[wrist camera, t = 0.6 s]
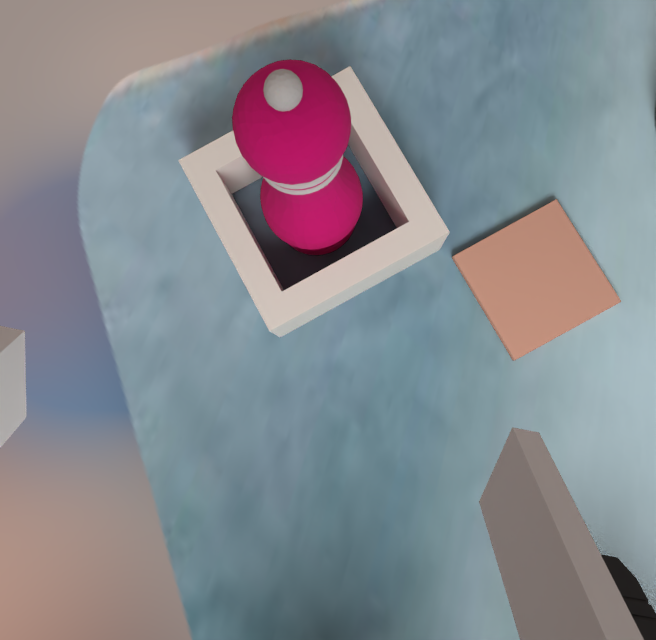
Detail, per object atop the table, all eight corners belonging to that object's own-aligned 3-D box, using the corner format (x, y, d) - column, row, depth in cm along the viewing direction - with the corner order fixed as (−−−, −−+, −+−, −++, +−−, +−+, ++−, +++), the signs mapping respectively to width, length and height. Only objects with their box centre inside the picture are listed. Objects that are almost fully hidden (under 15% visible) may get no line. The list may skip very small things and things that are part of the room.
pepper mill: (301, 279, 44) (251, 190, 24) (254, 203, 45) (168, 58, 25) (380, 230, 44) (395, 102, 24) (331, 155, 45) (307, -27, 25)
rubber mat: (554, 201, 43) (556, 199, 43) (618, 302, 42) (621, 301, 42) (451, 257, 43) (452, 256, 43) (512, 360, 42) (514, 360, 42)
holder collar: (351, 101, 45) (350, 66, 40) (439, 249, 43) (449, 232, 39) (198, 185, 45) (178, 160, 40) (280, 337, 43) (269, 331, 38)
